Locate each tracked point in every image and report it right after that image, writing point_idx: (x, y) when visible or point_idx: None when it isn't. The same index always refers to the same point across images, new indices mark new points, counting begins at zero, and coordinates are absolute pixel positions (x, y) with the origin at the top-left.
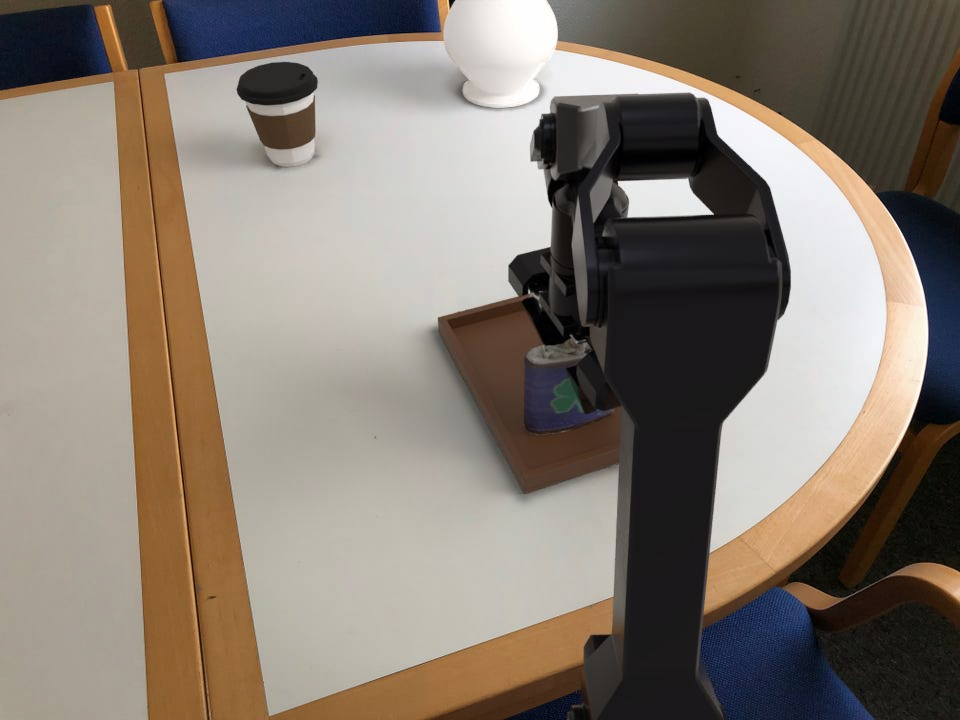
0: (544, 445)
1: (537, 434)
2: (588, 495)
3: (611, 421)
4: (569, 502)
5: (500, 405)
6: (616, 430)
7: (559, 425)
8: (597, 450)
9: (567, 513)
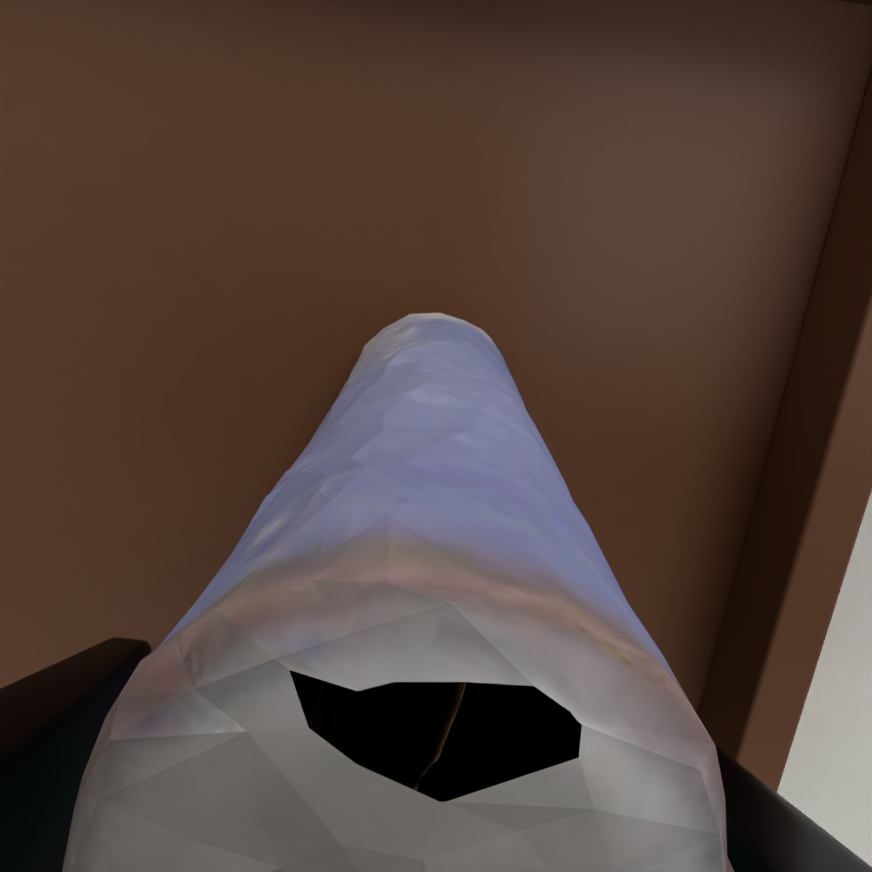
0: None
1: (419, 785)
2: (832, 733)
3: (546, 404)
4: (808, 815)
5: None
6: (622, 422)
7: (461, 724)
8: (770, 688)
9: (848, 848)
